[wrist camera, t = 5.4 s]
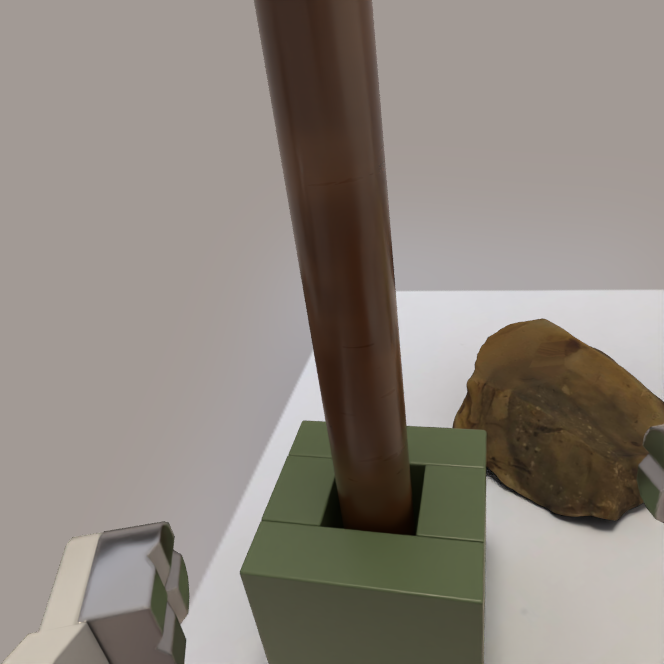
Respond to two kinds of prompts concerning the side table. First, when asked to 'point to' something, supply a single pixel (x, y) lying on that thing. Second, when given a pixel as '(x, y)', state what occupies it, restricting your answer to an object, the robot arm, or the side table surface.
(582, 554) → the side table surface
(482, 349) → the decorative stone
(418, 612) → the stick holder
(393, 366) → the brown cylindrical stick
